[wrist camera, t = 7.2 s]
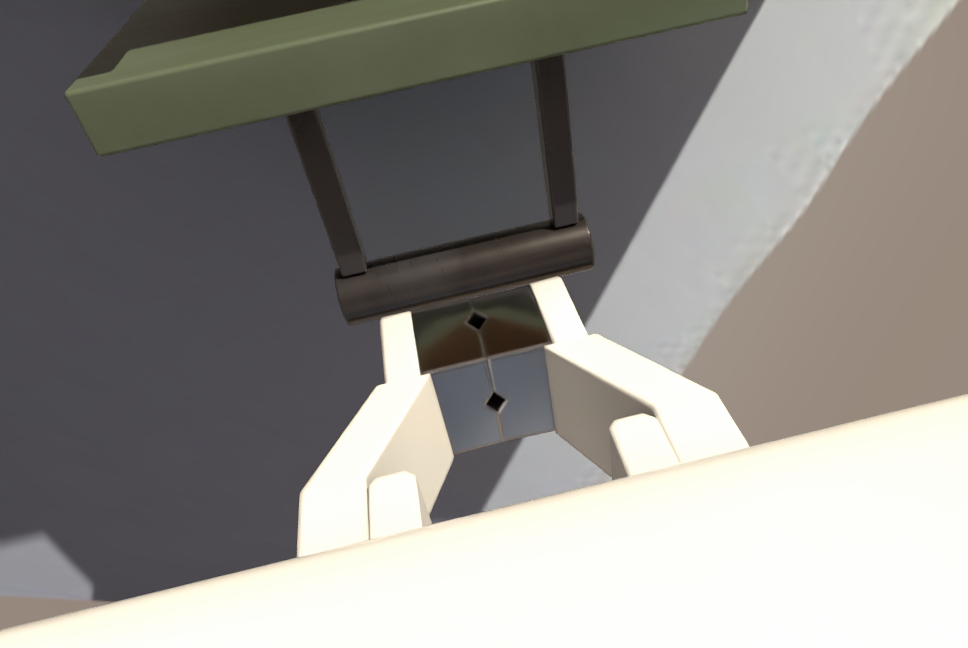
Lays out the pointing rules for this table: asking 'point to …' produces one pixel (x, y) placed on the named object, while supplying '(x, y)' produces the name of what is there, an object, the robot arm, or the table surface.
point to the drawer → (362, 74)
